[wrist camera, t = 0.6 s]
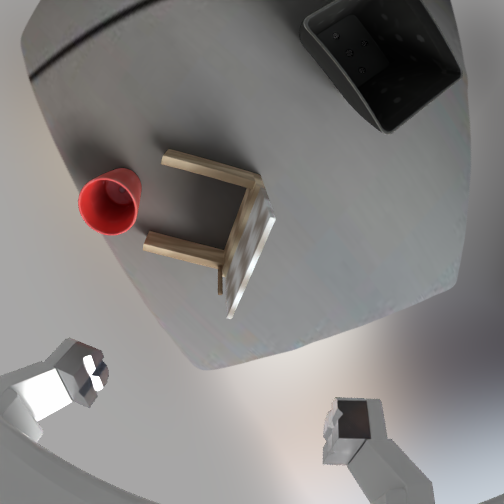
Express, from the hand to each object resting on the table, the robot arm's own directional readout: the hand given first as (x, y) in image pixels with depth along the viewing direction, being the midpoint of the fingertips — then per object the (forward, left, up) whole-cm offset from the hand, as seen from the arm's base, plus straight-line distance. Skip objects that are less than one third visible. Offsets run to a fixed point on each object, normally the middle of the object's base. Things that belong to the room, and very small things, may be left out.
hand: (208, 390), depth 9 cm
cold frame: (+15, 0, -47) cm, 50 cm away
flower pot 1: (+15, -15, -47) cm, 52 cm away
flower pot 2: (-23, +16, -47) cm, 55 cm away
